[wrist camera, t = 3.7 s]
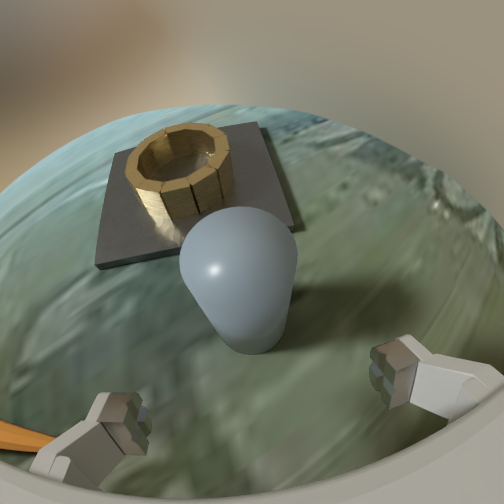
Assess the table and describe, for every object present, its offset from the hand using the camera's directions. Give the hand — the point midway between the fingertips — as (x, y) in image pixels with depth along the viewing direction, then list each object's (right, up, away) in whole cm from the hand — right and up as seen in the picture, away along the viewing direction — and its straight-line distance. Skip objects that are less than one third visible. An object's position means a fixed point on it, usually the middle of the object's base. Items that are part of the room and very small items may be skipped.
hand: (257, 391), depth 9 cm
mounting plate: (-7, +11, +19) cm, 24 cm away
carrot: (-22, -14, +6) cm, 26 cm away
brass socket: (-7, +11, +19) cm, 24 cm away
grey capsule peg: (0, -1, +12) cm, 12 cm away
